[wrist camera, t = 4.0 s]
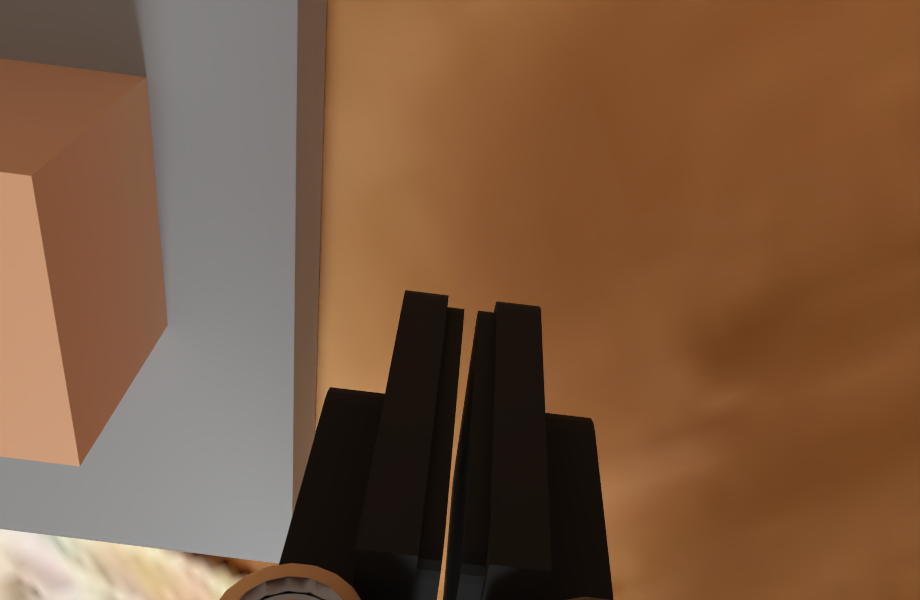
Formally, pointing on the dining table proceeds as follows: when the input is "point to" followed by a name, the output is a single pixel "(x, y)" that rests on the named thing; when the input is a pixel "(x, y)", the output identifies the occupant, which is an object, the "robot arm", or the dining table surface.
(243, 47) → the board
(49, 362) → the block
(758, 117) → the dining table surface
